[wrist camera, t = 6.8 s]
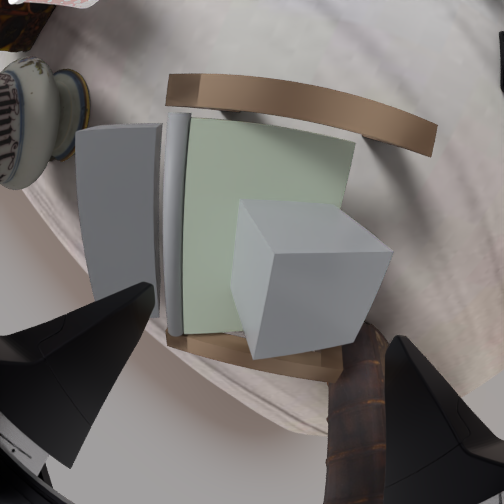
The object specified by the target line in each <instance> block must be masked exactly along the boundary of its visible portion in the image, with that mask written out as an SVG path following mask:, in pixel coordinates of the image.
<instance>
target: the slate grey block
mask: <svg viewBox="0 0 504 504" xmlns="http://www.w3.org/2000/svg"><path fill="white" fill-rule="evenodd" d="M393 253H394V251H393V250H391V249H390V248H389V247H388V246H387V245H385V244H384V243H383V242H382V241H381V240H379V239H378V238H377V237H376V236H374V235H373V234H372V233H371V232H369V231H368V230H367V229H365V228H364V227H363V226H362V225H360V224H359V223H358V222H356V221H355V220H354V219H352V218H351V217H350V216H349V215H347V214H346V213H345V212H343V211H342V210H340V209H339V208H338V207H336V206H335V205H334V204H324V203H310V202H296V201H279V200H259V199H240V201H239V209H238V218H237V227H236V236H235V246H234V255H233V265H232V274H231V284H230V289H231V292H232V295H233V299H234V302H235V305H236V308H237V311H238V315H239V318H240V321H241V324H242V327H243V330H244V334H245V337H246V340H247V343H248V346H249V349H250V352H251V355H252V358H253V360H257V359H264V358H272V357H279V356H285V355H292V354H298V353H304V352H309V351H315V350H320V349H325V348H330V347H335V346H339V345H344V344H348V343H353V342H354V340H355V338H356V336H357V334H358V332H359V330H360V328H361V326H362V324H363V322H364V320H365V318H366V316H367V314H368V312H369V310H370V308H371V305H372V303H373V301H374V299H375V297H376V294H377V292H378V290H379V287H380V285H381V283H382V280H383V278H384V276H385V273H386V271H387V268H388V266H389V263H390V260H391V258H392V255H393Z"/></svg>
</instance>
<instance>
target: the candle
mask: <svg viewBox="0 0 504 504" xmlns="http://www.w3.org/2000/svg"><path fill="white" fill-rule="evenodd" d="M54 8H55V4H46V3H32V2H23V3H20V4H10V3H9V2H8V0H0V51H8V52H19V51H23V52H26V51H28V50H30V49H31V47H32V45H33V44H34V42H35V40H36V38H37V36H38V34H39V33H40V31H41V29H42V28H43V26H44V24H45V23H46V21H47V19H48V18H49V16H50V15H51V13H52V11H53V9H54Z"/></svg>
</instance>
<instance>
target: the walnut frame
mask: <svg viewBox="0 0 504 504" xmlns="http://www.w3.org/2000/svg"><path fill="white" fill-rule="evenodd" d="M165 106H176V107H190V108H201V109H211V110H220V111H231V112H240V111H247V112H255V113H262V114H269V115H276V116H282V117H288V118H293V119H299V120H304V121H309V122H314V123H318V124H323V125H327V126H332V127H336V128H340V129H344V130H348V131H351V132H355V133H359V134H362V136H363V137H367V138H370V139H373V140H377V141H380V142H383V143H387V144H390V145H394V146H397V147H401V148H404V149H407V150H410V151H413V152H416V153H419V154H422V155H425V156H428V157H431V156H432V151H433V147H434V142H435V137H436V132H437V126H438V125H436V124H434V123H432V122H430V121H427V120H425V119H423V118H420V117H418V116H415V115H413V114H410V113H408V112H405V111H402V110H400V109H397V108H394V107H391V106H388V105H385V104H382V103H379V102H376V101H373V100H370V99H366V98H363V97H359V96H356V95H352V94H348V93H344V92H340V91H336V90H332V89H328V88H323V87H319V86H314V85H309V84H303V83H298V82H292V81H285V80H279V79H271V78H263V77H253V76H242V75H227V74H169V80H168V87H167V95H166V104H165ZM166 340H167V346H169V347H173V348H176V349H179V350H182V351H185V352H189V353H192V354H196V355H199V356H203V357H206V358H210V359H213V360H217V361H221V362H225V363H229V364H233V365H237V366H241V367H246V368H250V369H255V370H259V371H264V372H269V373H274V374H279V375H285V376H290V377H296V378H302V379H308V380H315V381H322V382H330V383H336V381H337V379H338V378H339V376H340V375H341V373H342V371H343V359H342V346H341V345H339V346H335V347H330V348H325V349H320V350H315V352H312V351H309V352H304V353H298V354H292V355H285V356H279V357H272V358H264V359H257V360H253V358H252V355H251V352H250V349H249V346H248V343H247V340H246V338H242V337H238V336H234V335H230V334H226V333H222V332H221V333H201V334H184V332H183V334H182V335H180V336H177V337H175V336H171V335H170V334H169V333H168V327H167V329H166Z"/></svg>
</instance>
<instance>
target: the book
mask: <svg viewBox="0 0 504 504" xmlns="http://www.w3.org/2000/svg"><path fill="white" fill-rule="evenodd" d="M341 346H342V359H343V371H342V373H341V375H340V376H339V378H338V379H337V381H336V383H330V382H327V385H328V387H329V406H328V417H327V419H326V420H327V422H328V448H327V449H328V450H327V459H326V466H327V473H326V486H325V496H324V503H323V504H383V497H384V488H385V487H384V486H385V468H386V415H385V395H384V380H385V352H386V350H387V348H388V347H389V345H388V343H387V340H386V339H385V338H384V336H383V335H382V334H381V333H380V332H379V331H378V330H377V329H376V328H375V327H374V326H373V325H372V324H366V323H363V324H362V326H361V328H360V330H359V332H358V334H357V336H356V338H355V340H354V342H353V343H348V344H344V345H341Z"/></svg>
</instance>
